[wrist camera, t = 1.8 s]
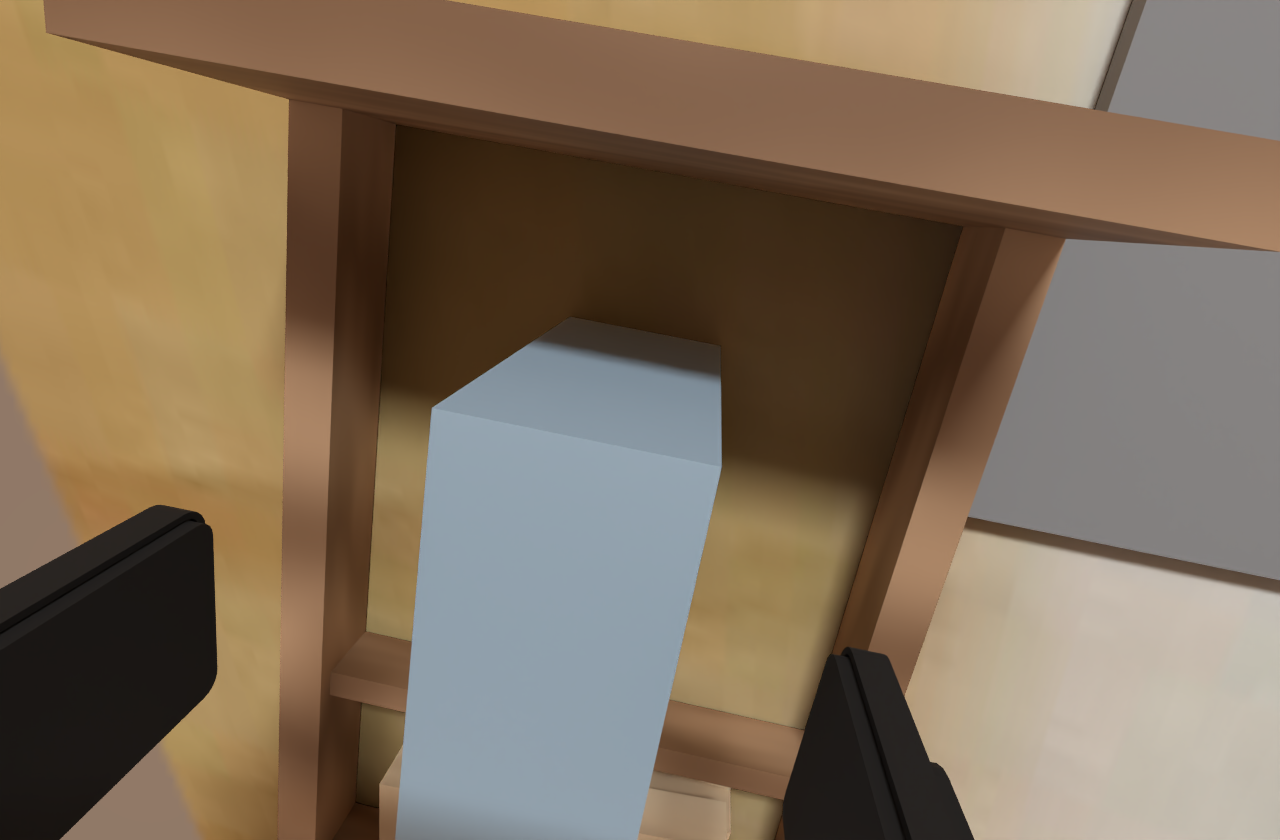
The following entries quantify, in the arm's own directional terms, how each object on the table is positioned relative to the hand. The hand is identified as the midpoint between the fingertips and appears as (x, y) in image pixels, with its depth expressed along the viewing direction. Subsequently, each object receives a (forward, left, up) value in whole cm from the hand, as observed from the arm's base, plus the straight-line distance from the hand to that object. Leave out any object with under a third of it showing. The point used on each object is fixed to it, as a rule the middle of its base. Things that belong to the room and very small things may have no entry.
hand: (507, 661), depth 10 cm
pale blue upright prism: (0, 0, -9) cm, 9 cm away
